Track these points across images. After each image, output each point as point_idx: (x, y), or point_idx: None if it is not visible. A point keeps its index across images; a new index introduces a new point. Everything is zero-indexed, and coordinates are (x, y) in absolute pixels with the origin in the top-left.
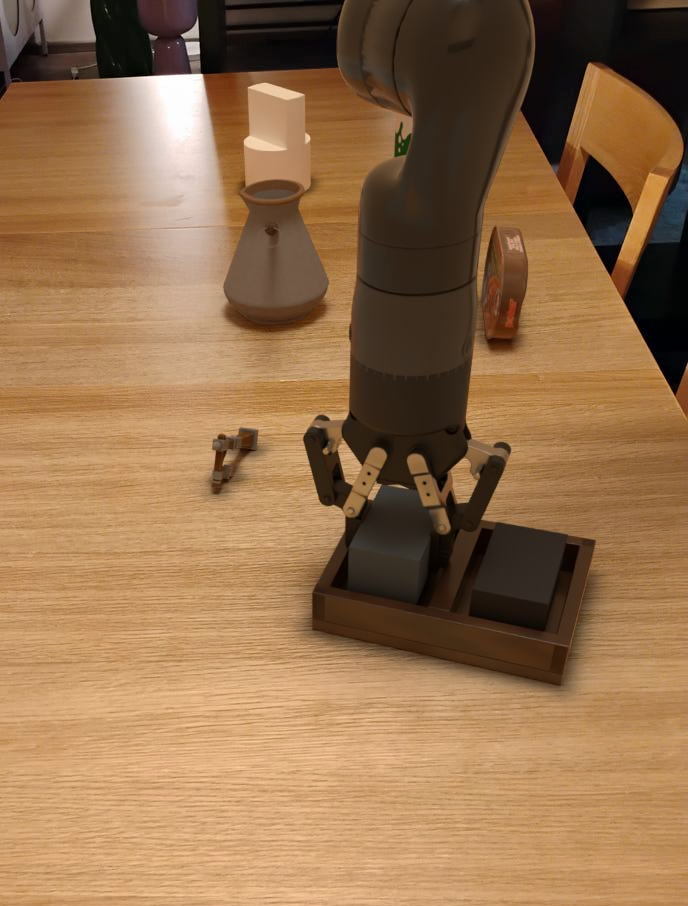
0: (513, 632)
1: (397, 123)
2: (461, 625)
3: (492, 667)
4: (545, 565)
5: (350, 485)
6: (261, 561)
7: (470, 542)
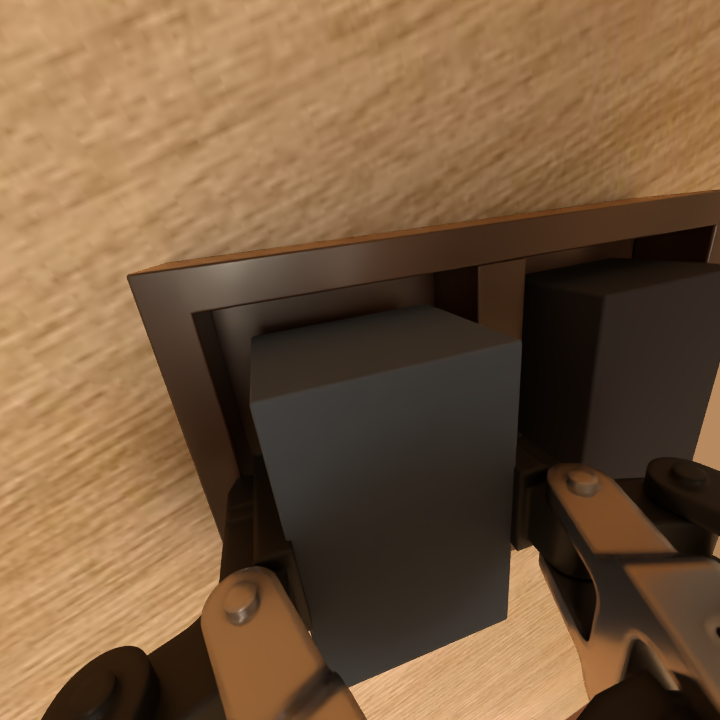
0: None
1: None
2: None
3: None
4: (692, 399)
5: (205, 712)
6: (6, 481)
7: (510, 331)
